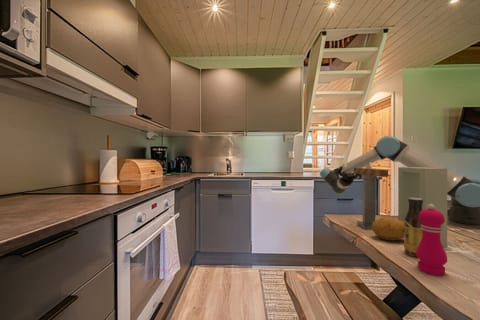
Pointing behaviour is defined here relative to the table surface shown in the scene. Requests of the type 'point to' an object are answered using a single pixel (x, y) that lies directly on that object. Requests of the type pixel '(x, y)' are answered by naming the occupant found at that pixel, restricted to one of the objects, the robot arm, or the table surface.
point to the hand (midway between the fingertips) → (358, 164)
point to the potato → (388, 228)
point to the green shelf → (423, 191)
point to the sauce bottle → (413, 226)
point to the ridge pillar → (368, 202)
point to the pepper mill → (431, 242)
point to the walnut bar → (371, 172)
